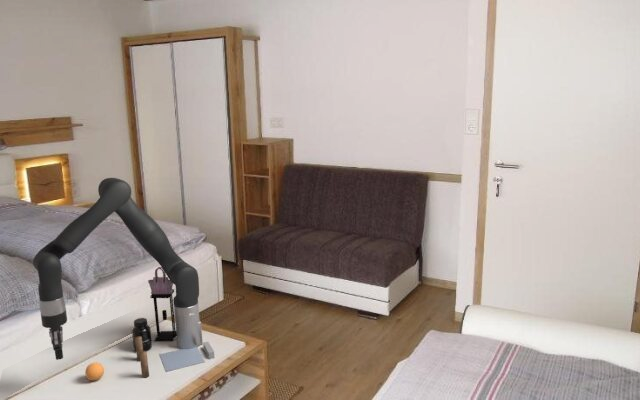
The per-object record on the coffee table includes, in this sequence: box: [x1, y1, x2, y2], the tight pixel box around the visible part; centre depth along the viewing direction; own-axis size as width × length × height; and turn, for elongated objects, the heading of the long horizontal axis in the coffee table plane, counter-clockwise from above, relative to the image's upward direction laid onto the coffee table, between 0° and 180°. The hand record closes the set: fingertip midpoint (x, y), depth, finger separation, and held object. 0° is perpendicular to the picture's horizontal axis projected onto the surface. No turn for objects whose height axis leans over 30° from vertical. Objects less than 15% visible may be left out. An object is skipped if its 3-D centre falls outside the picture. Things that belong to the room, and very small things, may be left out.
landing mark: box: [159, 347, 206, 373], centre depth 197 cm, size 14×14×1 cm
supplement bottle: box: [131, 317, 153, 352], centre depth 203 cm, size 7×7×12 cm
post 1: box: [135, 336, 143, 363], centre depth 195 cm, size 2×2×9 cm
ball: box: [84, 362, 105, 382], centre depth 183 cm, size 6×6×6 cm
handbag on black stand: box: [147, 266, 177, 342], centre depth 211 cm, size 10×8×30 cm
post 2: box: [140, 351, 150, 379], centre depth 184 cm, size 2×2×9 cm
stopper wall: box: [202, 341, 215, 360], centre depth 200 cm, size 2×9×2 cm, turn 26°
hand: (59, 358), depth 177 cm, fingers closed
